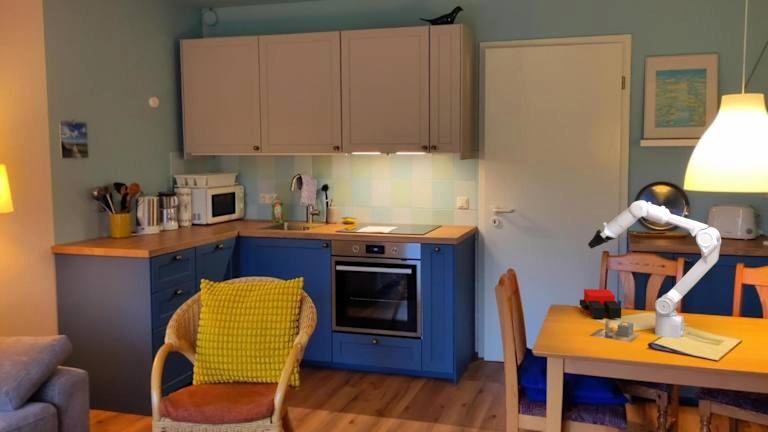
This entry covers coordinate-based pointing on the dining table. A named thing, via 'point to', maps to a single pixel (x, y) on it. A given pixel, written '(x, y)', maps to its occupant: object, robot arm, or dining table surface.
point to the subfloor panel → (614, 335)
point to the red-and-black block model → (600, 303)
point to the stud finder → (625, 329)
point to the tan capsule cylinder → (608, 329)
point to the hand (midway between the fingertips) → (592, 245)
